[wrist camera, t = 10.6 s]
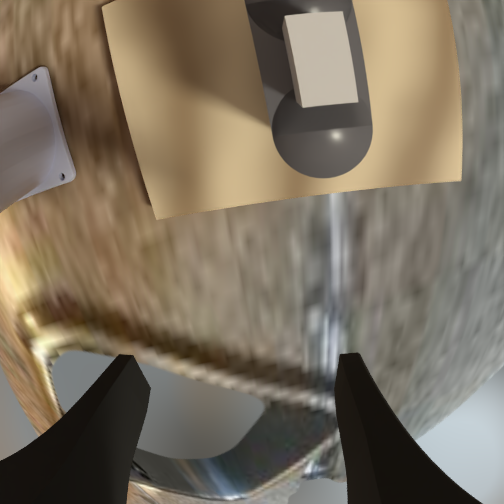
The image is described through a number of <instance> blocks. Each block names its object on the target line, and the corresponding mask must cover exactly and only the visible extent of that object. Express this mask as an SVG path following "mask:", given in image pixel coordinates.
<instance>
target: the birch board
mask: <svg viewBox="0 0 504 504" xmlns="http://www.w3.org/2000/svg"><path fill="white" fill-rule="evenodd" d="M352 2H353V6H354V11H355V15H356V20H357V25H358V29H359V34H360V40H361V45H362V51H363V56H364V62H365V69H366V75H367V82H368V90H369V97H370V106H371V114H372V124H373V135H372V141H371V145H370V148H369V150H368V152H367V154H366V156H365V157H364V158H363V160H362V161H361V162H360V163H359V164H358V165H357V166H356V167H355V168H353V169H352V170H351V171H349V172H347V173H345V174H343V175H340V176H337V177H333V178H314V177H309V176H306V175H303V174H301V173H299V172H297V171H296V170H294V169H293V168H291V167H290V166H289V165H288V164H287V163H286V162H285V161H284V160H283V159H282V157H281V156H280V155H279V153H278V151H277V149H276V147H275V144H274V141H273V137H272V131H271V126H270V121H269V115H268V110H267V105H266V100H265V95H264V90H263V85H262V80H261V75H260V70H259V65H258V60H257V56H256V51H255V46H254V42H253V37H252V33H251V28H250V24H249V19H248V15H247V10H246V6H245V1H244V0H116V1H113V2H111V3H109V4H107V5H104V6H102V11H103V17H104V22H105V27H106V33H107V38H108V43H109V48H110V52H111V57H112V62H113V66H114V71H115V75H116V79H117V84H118V88H119V92H120V96H121V100H122V104H123V108H124V112H125V116H126V119H127V123H128V127H129V131H130V134H131V138H132V141H133V145H134V149H135V152H136V155H137V159H138V162H139V166H140V169H141V172H142V176H143V179H144V182H145V185H146V189H147V192H148V195H149V198H150V201H151V204H152V207H153V210H154V213H155V216H156V219H157V220H159V219H164V218H170V217H175V216H181V215H187V214H193V213H198V212H204V211H210V210H216V209H223V208H229V207H235V206H242V205H248V204H255V203H262V202H269V201H276V200H283V199H290V198H298V197H305V196H313V195H321V194H329V193H337V192H346V191H354V190H363V189H373V188H382V187H392V186H403V185H413V184H425V183H437V182H450V181H461V172H462V105H461V89H460V78H459V68H458V59H457V52H456V45H455V38H454V32H453V26H452V21H451V16H450V11H449V7H448V2H447V0H352Z"/></svg>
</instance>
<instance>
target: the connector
mask: <svg viewBox="0 0 504 504" xmlns="http://www.w3.org/2000/svg"><path fill="white" fill-rule="evenodd" d="M244 1H245V6H246V10H247V15H248V19H249V24H250V28H251V33H252V37H253V42H254V46H255V51H256V56H257V60H258V65H259V70H260V75H261V80H262V85H263V90H264V95H265V100H266V105H267V110H268V115H269V121H270V126H271V131H272V137H273V141H274V144H275V147H276V149H277V151H278V153H279V155H280V156H281V157H282V159H283V160H284V161H285V162H286V163H287V164H288V165H289V166H290V167H291V168H293V169H294V170H296V171H297V172H299V173H301V174H303V175H306V176H309V177H314V178H333V177H337V176H340V175H343V174H345V173H347V172H349V171H351V170H352V169H353V168H355V167H356V166H357V165H358V164H359V163H360V162H361V161H362V160H363V158H364V157H365V156H366V154H367V152H368V150H369V148H370V145H371V141H372V135H373V124H372V114H371V106H370V97H369V90H368V82H367V75H366V69H365V62H364V56H363V51H362V45H361V40H360V34H359V29H358V25H357V20H356V15H355V11H354V6H353V2H352V0H244Z"/></svg>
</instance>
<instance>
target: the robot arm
mask: <svg viewBox="0 0 504 504" xmlns="http://www.w3.org/2000/svg"><path fill="white" fill-rule="evenodd" d="M36 75H37V80H36V79H35V76H36ZM62 173H63V174H64V175H65V178H63V176H62ZM75 177H76V170H75V167H74V164H73V161H72V158H71V155H70V152H69V149H68V145H67V142H66V139H65V135H64V132H63V128H62V125H61V121H60V117H59V113H58V110H57V106H56V102H55V98H54V93H53V89H52V85H51V80H50V75H49V71H48V68H47V67H39V68H37V69H36V70H34V71H32V72H31V73H29V74H28V75H26V76H25V77H23V78H22V79H20V80H19V81H17V82H16V83H14V84H13V85H11V86H10V87H8V88H7V89H5V90H4V91H3V92H1V93H0V213H1V212H2V211H3V210H5V209H6V208H8V207H9V206H10V205H12V204H13V203H14V202H16V201H19V200H21V199H24V198H26V197H29V196H32V195H34V194H37V193H40V192H42V191H45V190H48V189H51V188H53V187H56V186H59V185H62V184H65V183H68V182H70V181H72V180H73V179H75ZM150 390H151V387H150V386H149V384H148V382H147V380H146V378H145V377H144V375H143V373H142V371H141V369H140V367H139V365H138V363H137V362H136V360H135V358H134V356H133V355H122V354H119V355H118V356H117V357H116V358H115V359H114V361H113V362H112V363H111V364H110V365H109V366H108V368H107V369H106V370H105V371H104V372H103V373H102V374H101V376H100V377H99V378H98V379H97V380H96V381H95V383H94V384H93V385H92V386H91V387H90V388H89V389H88V390H87V391H86V393H85V394H84V395H83V396H82V397H81V398H80V399H79V400H78V401H77V402H76V403H75V405H73V407H72V408H71V409H70V410H69V411H68V412H67V413H66V414H65V415H64V416H63V417H62V418H61V419H60V420H58V421H57V422H56V423H55V424H54V425H53V426H52V427H51V428H49V429H48V430H47V431H46V432H45V433H43V434H42V435H41V436H39V437H38V438H37V439H35V440H34V441H33V442H31V443H30V444H29V445H27V446H26V447H24V448H23V449H21V450H19V451H18V452H16V453H14V454H13V455H11V456H9V457H7V458H5V459H3V460H1V461H0V504H126V502H127V492H128V483H129V476H130V470H131V465H132V461H133V457H134V453H135V450H136V447H137V443H138V440H139V437H140V433H141V430H142V426H143V423H144V420H145V416H146V413H147V408H148V403H149V396H150ZM334 391H335V405H336V416H337V421H338V427H339V432H340V438H341V444H342V449H343V455H344V461H345V467H346V475H347V492H348V493H347V495H348V504H482V503H481V502H479V501H478V500H477V499H475V498H474V497H473V496H471V495H470V494H469V493H467V492H466V491H465V490H463V489H462V488H461V487H460V486H459V485H457V484H456V483H455V482H454V481H453V480H452V479H451V478H450V477H448V476H447V475H446V474H445V473H444V472H443V471H442V470H441V469H440V468H439V467H438V466H437V465H436V464H435V463H434V462H433V461H432V460H431V459H430V458H429V457H428V455H427V454H426V453H425V452H424V451H423V450H422V449H421V448H420V446H419V445H418V444H417V443H416V442H415V440H414V439H413V438H412V437H411V436H410V434H409V433H408V432H407V430H406V429H405V428H404V426H403V425H402V424H401V422H400V421H399V419H398V418H397V417H396V415H395V414H394V412H393V411H392V409H391V408H390V406H389V405H388V403H387V401H386V400H385V398H384V397H383V395H382V394H381V392H380V390H379V389H378V387H377V385H376V383H375V382H374V380H373V378H372V376H371V375H370V373H369V371H368V369H367V367H366V365H365V363H364V361H363V359H362V357H361V355H360V354H359V353H348V354H340V357H339V363H338V369H337V376H336V382H335V387H334Z"/></svg>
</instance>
